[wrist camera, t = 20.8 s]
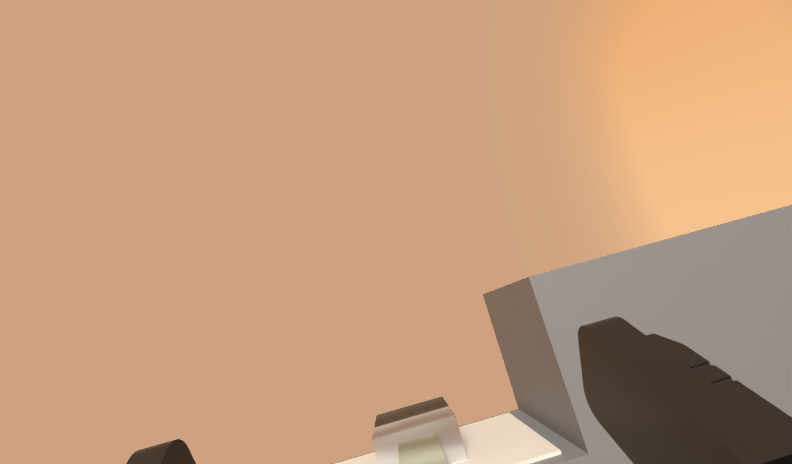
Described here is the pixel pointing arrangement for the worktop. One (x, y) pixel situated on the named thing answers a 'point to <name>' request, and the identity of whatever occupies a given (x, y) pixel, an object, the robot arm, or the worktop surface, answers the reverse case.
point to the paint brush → (418, 435)
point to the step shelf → (648, 312)
